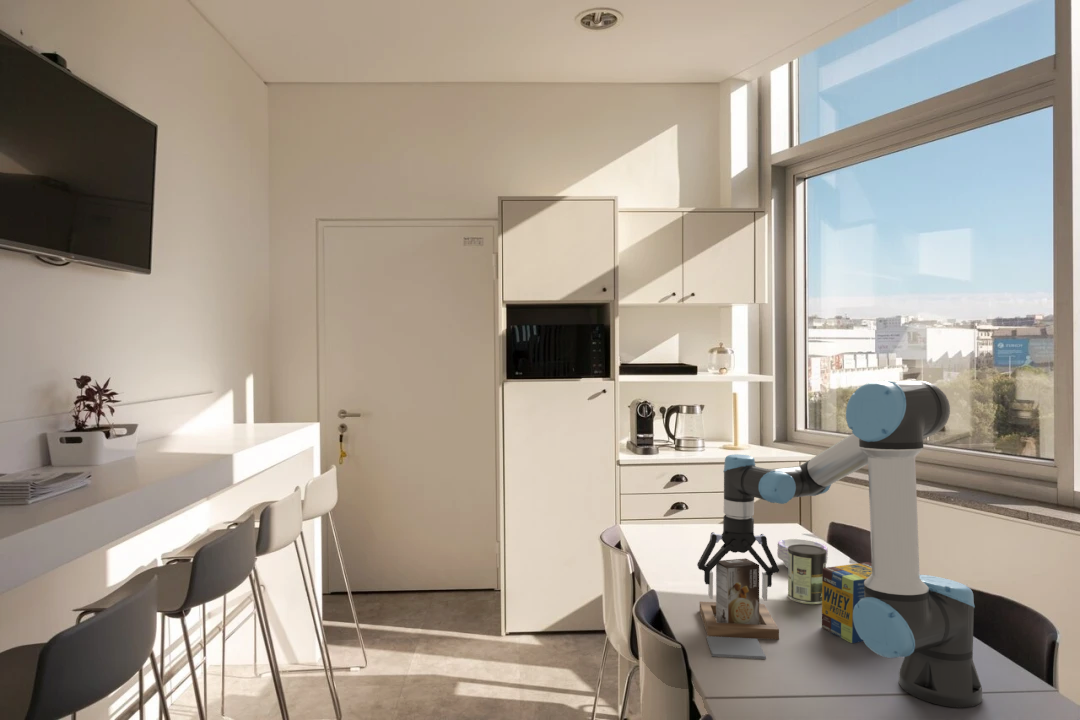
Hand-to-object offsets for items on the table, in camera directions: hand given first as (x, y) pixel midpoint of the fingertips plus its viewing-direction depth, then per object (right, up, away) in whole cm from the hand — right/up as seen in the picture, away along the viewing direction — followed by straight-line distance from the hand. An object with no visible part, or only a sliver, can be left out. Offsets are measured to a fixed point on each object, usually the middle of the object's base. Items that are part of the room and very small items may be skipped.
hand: (737, 597), depth 183 cm
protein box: (+30, -7, -4) cm, 31 cm away
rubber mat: (-5, -7, -14) cm, 17 cm away
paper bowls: (+34, -6, +47) cm, 58 cm away
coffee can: (+25, -7, +20) cm, 33 cm away
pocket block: (0, -7, 0) cm, 7 cm away
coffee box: (0, -7, 0) cm, 7 cm away
